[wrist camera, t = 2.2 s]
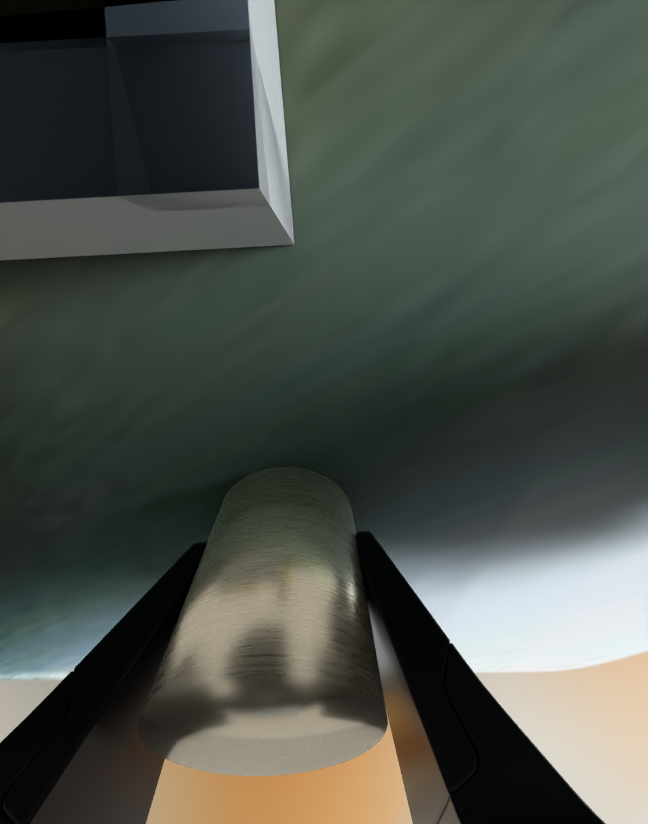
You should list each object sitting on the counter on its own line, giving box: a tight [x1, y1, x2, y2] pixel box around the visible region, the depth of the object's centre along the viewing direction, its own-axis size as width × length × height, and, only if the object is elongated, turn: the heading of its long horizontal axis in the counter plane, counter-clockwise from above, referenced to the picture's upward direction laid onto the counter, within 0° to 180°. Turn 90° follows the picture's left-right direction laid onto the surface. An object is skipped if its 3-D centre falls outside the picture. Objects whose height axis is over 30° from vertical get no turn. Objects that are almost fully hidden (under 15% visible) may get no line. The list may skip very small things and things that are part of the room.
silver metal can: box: [138, 467, 388, 776], centre depth 7 cm, size 4×4×5 cm
